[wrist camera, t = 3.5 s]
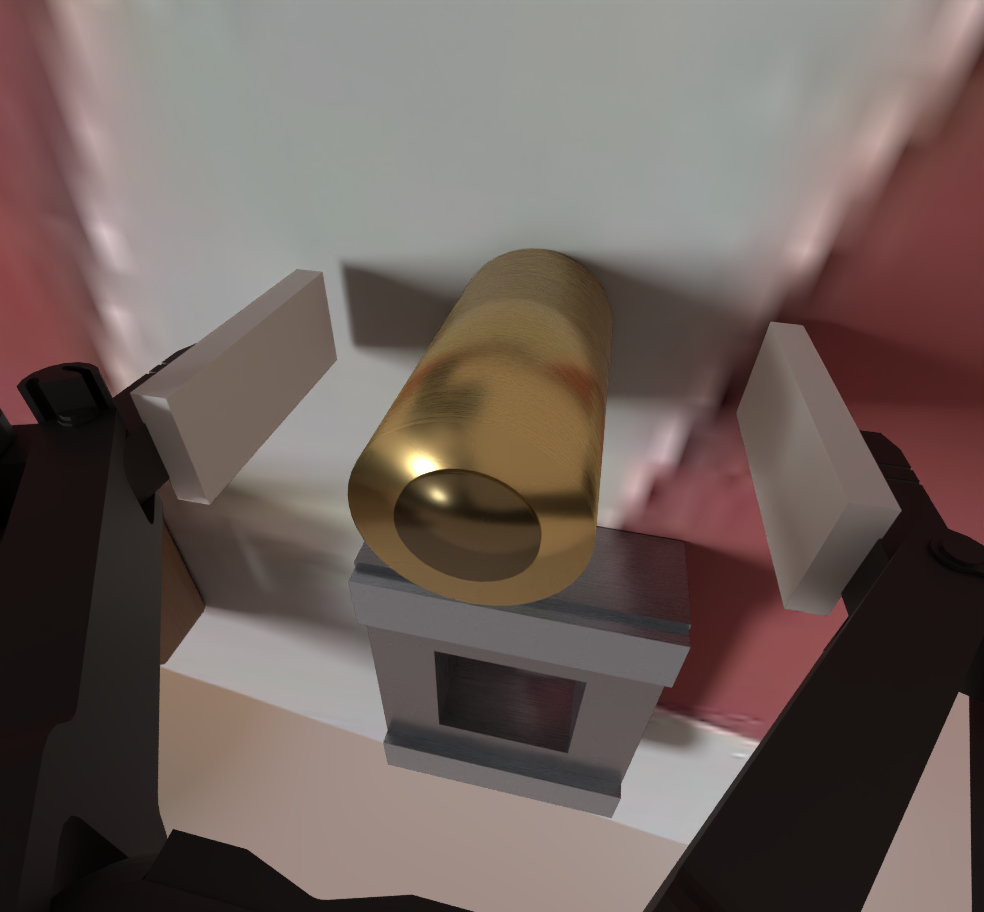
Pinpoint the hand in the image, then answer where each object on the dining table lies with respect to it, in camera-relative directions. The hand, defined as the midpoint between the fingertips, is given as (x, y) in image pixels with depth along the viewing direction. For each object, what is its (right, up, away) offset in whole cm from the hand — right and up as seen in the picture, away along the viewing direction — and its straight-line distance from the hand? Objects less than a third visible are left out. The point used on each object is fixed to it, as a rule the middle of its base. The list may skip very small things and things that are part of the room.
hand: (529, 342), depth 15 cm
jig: (0, -11, +10) cm, 15 cm away
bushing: (0, +1, +1) cm, 1 cm away
